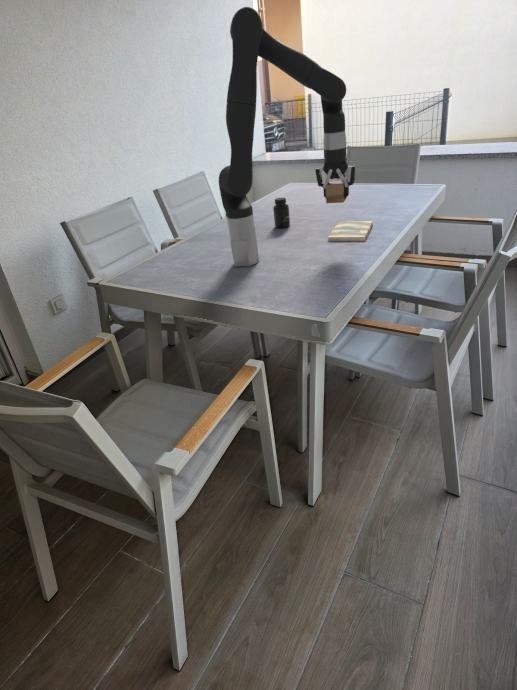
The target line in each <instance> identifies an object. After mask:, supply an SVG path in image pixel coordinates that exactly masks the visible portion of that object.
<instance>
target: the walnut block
mask: <svg viewBox="0 0 517 690" xmlns="http://www.w3.org/2000/svg"><path fill="white" fill-rule="evenodd" d="M344 187H345V186H344V184H343V182H342V181H341V180H337V181H330V182H329V183H328V184H327V185H326V197H325V202H326V204H339V203H340V204H343V203H344V202H345V201H346V200H347V198H344Z"/></svg>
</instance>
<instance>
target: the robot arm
mask: <svg viewBox="0 0 517 690" xmlns="http://www.w3.org/2000/svg"><path fill="white" fill-rule="evenodd" d="M263 26H264V25H263V21H262V19H261V16H260V14H259V13H258V11H257V10H256V9H254V8H253V7H250V6H243V7H242V8H240V9H238V10H237V11H236V12H235V13H234V15H233V17H232V19H231V22H230V27H229V29H230V30H229V31H230V38H231V41H232V64H231V65H232V66H231V69H230V74H229V75H230V76H229V82H228V86H227V95H226V109H225V110H226V111H225V123H226V128H227V129H226V130H227V135H228V138H229V143H230V162H229V163H230V164H229V165H226V166H225V167H223V168H222V169H221V171H220V172H219V175H218V186H219V193H220V198H221V202H222V207H223V210H224V212H225V214H226V220H227V227H228V233H229V240H230V247H231V253H232V254H231V255H232V260H233V266H234V267H243V268H245V267H248V268H249V267H251V266H253V265H256V264H258V263H259V262H260V257H259V250H258V243H257V234H256V226H255V218H254V217H255V216H254V211H253V206H252V205H253V204H252V203H250V201H249V199H248V197H247V195H248V194H249V192H250V191H251V188H252V185H253V177H254V176H253V146H254V135H255V134H254V133H255V123H256V113H257V92H258V89H257V87H258V86H257V85H258V79H257V76H258V75H257V73H258V72H257V71H258V67H257V66H258V57H259V58H261V59H263V60H265V61H267V62H268V63H270V64H271V65H273V66H275V67H276V68H277V69H279V70H280V71H282V72H284V73H285V74H286V75H288V77H290V78H292V79H293V80H294V81H296V82H297V83H299V84H301V85H302V86H303V87H305V88H307V89H309V90H310V89H311V90H312V91H314V92H315V93H316V94H318V95H319V96H320V101H321V103H320V104H321V110H322V117H323V122H322V123H323V141H322V142H323V163H324V164H323V166H322V167H317V168H316V169H315V171H314V172H315V175H316V176H315V177H316V181H317V182H316V183H317V186H318V187H322V188H323V197H324V198H326V185H327V184H328V183H329V182H331V180H333V179H336V180H340V181H342V182H343V184H344V186H345V187H344V198H346V199H347V198H348V197H349V196H350V195H349V194H350V187H351V186H353V185H354V183H355V180H356V172H357V166H356V165H355V164H354V165H349V164H348V162H347V160H348V159H347V156H348V155H347V144H348V142H347V133H346V118H345V113H344V111H343V100H344V98H345V97H346V93H347V85H346V83H345V81H344V80H343V79H342V78H341V77H339V76H338V75H336V74H334V73H333V72H331V71H329V70H327V69H325V68H324V67H322V66H321V65H319V63H317V62H316V61H314V60H313V59H312V58H311V57H309V56H307V55H306V54H305V53H303V52H301V51H299V50H297V49H296V48H294V47H292V46H290V45H287V44H286V43H283V42H281V41H280V40H278V39H276V38H274V36H272V35H271V34H269V33H268V32H267V31H266V29H264V28H263ZM347 171H348V172H349V174H350V175H349V176H350V178H349V180H348V178H347V177H348V176H347V175H346V172H347ZM323 172H324V174H325V175H326V177H325V180H324V182H323V175H322V174H323Z"/></svg>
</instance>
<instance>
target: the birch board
mask: <svg viewBox="0 0 517 690" xmlns="http://www.w3.org/2000/svg"><path fill="white" fill-rule="evenodd" d="M373 224H374V221H373V220H365V221H363V220H362V221H359V220H358V221H354V220H353V221H338V222H337V223H336V225H335V227H334V228H333V229H332V231H331V232H330V233H329V235H328V236H327V242H365V241H366V240H367V238H368V236H369V233H370V231H371V229H372V227H373Z"/></svg>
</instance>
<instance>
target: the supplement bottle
mask: <svg viewBox="0 0 517 690" xmlns="http://www.w3.org/2000/svg"><path fill="white" fill-rule="evenodd" d="M272 211H273V222H274V223H273V224H274V227H275V229H285V228H289V227H290V226H291V221H290V218H291V217H290V206H289V205H288V204H287V199H286V197H277V198H275V199H274V206H273V207H272Z"/></svg>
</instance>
